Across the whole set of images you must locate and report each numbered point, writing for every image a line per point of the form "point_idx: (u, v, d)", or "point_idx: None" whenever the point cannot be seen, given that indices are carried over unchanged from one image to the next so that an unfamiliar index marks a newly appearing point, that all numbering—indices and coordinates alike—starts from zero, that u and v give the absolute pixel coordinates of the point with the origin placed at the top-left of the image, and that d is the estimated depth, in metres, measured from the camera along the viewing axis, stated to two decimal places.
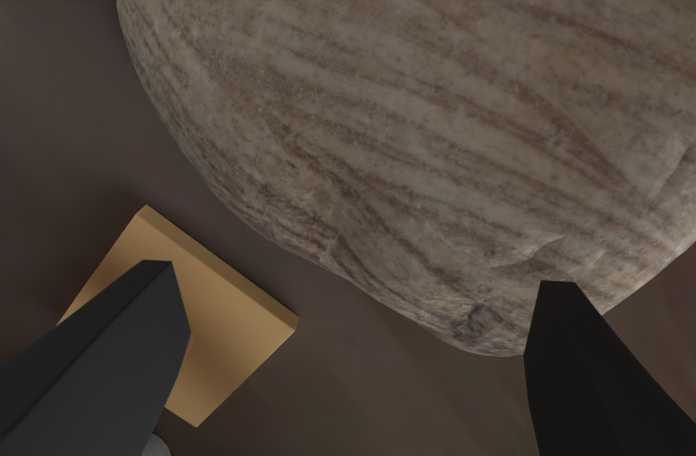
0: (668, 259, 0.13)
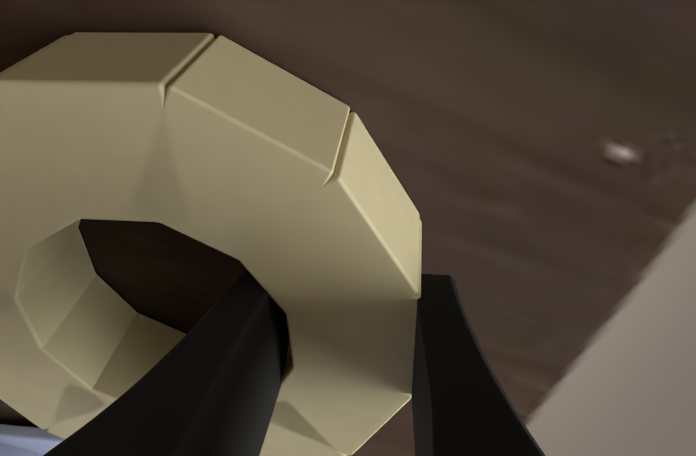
0: None
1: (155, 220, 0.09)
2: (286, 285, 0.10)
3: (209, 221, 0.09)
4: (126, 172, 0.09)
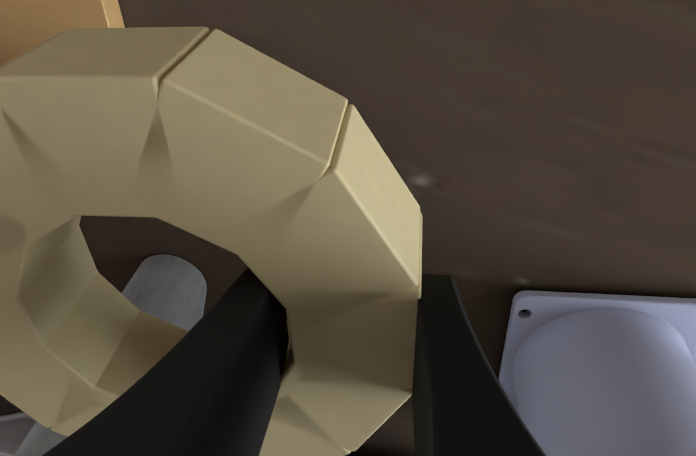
0: None
1: (152, 215, 0.09)
2: (286, 280, 0.10)
3: (206, 215, 0.09)
4: (122, 167, 0.09)
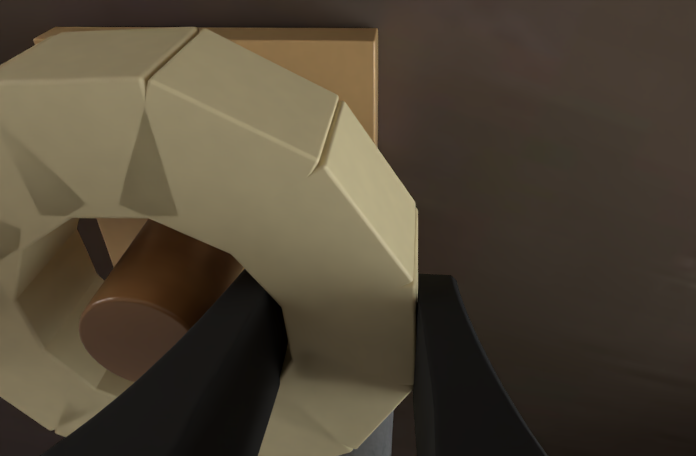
0: None
1: (145, 216, 0.09)
2: (281, 278, 0.10)
3: (198, 215, 0.09)
4: (113, 169, 0.09)
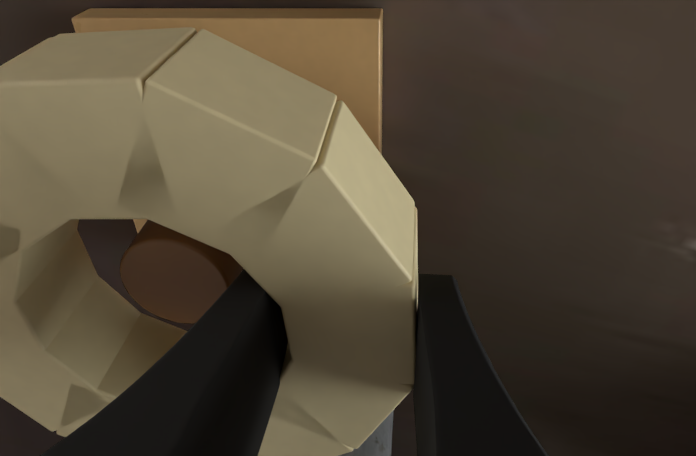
0: None
1: (144, 218, 0.09)
2: (279, 278, 0.10)
3: (197, 216, 0.09)
4: (111, 170, 0.09)
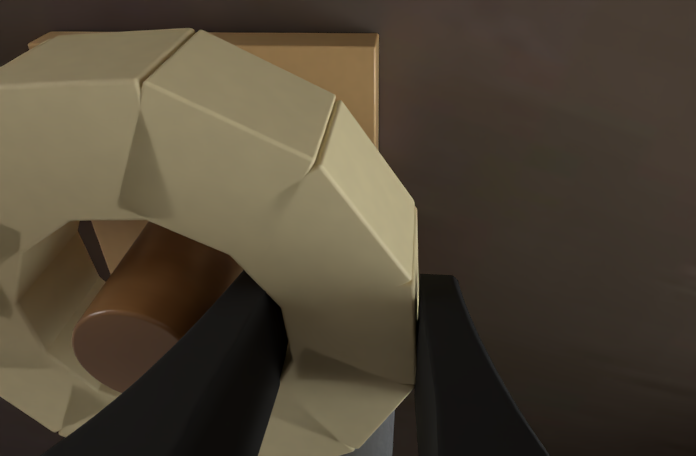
0: None
1: (143, 218, 0.09)
2: (279, 279, 0.10)
3: (196, 216, 0.09)
4: (110, 171, 0.09)
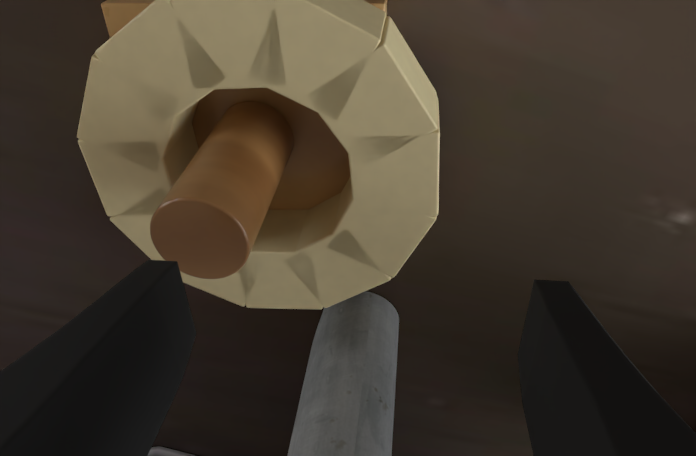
0: None
1: (264, 86, 0.14)
2: (349, 132, 0.14)
3: (299, 83, 0.14)
4: (247, 51, 0.13)
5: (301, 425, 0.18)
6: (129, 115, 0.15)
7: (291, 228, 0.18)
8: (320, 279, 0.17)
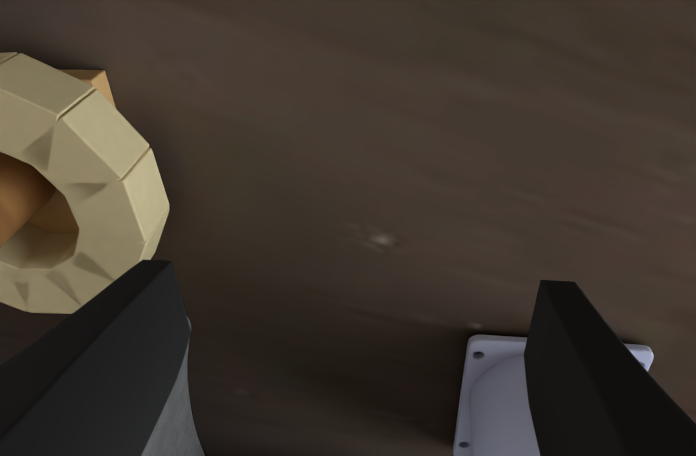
0: None
1: None
2: (61, 179, 0.19)
3: (11, 144, 0.18)
4: None
5: None
6: None
7: (59, 249, 0.22)
8: (76, 290, 0.22)
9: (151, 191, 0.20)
